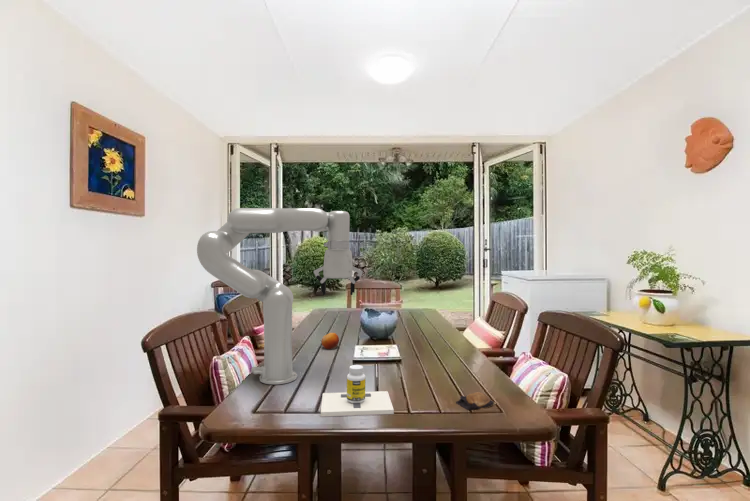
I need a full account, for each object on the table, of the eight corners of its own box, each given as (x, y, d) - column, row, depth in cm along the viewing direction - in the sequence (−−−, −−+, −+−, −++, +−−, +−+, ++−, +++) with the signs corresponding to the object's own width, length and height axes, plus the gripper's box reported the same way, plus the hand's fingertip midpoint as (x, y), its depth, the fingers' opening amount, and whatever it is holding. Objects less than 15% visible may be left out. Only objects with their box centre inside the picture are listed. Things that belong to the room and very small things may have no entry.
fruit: (342, 347, 177) (333, 331, 177) (327, 356, 177) (317, 340, 177) (344, 342, 185) (335, 327, 185) (329, 351, 185) (320, 336, 185)
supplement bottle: (351, 405, 113) (351, 370, 113) (343, 398, 118) (343, 365, 118) (368, 401, 116) (368, 367, 116) (360, 395, 121) (360, 363, 121)
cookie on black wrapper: (478, 397, 125) (478, 385, 125) (499, 406, 118) (499, 394, 118) (452, 404, 119) (452, 391, 119) (472, 414, 112) (472, 401, 112)
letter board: (320, 416, 109) (320, 411, 109) (322, 397, 123) (322, 392, 123) (393, 414, 111) (393, 408, 111) (387, 394, 125) (387, 390, 125)
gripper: (312, 245, 138) (312, 295, 138) (363, 246, 138) (362, 296, 139) (315, 245, 145) (314, 293, 146) (363, 246, 146) (362, 293, 146)
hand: (337, 294), depth 142 cm, fingers open, 9 cm apart
